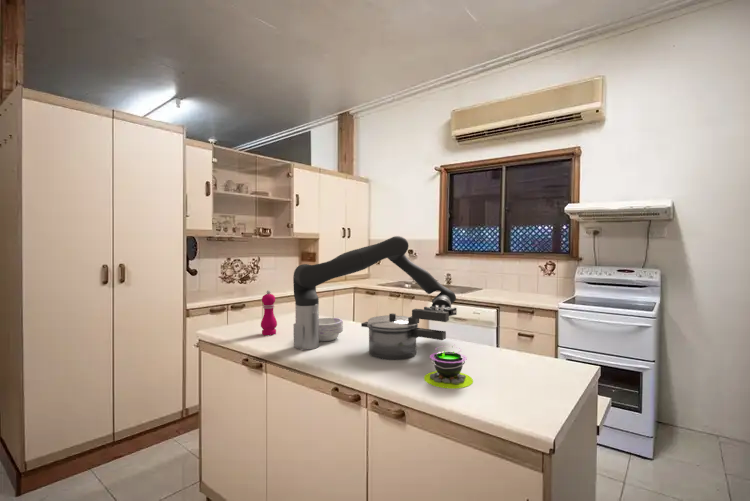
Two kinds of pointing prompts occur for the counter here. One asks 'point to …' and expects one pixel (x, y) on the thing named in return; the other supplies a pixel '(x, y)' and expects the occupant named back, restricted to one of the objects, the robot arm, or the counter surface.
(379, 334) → the cooker pot
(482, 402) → the counter surface
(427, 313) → the lid
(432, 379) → the toy cauldron
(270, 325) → the pepper mill
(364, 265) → the robot arm
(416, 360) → the counter surface
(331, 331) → the paper bowls
